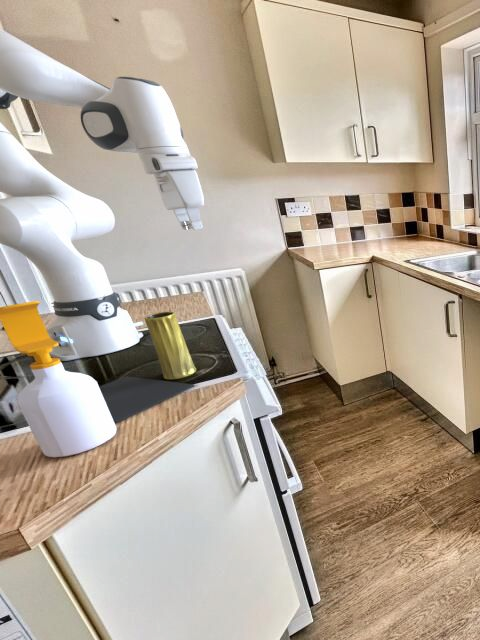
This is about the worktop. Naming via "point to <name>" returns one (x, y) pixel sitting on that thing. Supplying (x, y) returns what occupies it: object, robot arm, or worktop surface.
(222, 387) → the worktop surface
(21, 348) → the soap bottle
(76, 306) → the robot arm
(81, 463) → the worktop surface
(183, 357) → the vase
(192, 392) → the worktop surface
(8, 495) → the worktop surface
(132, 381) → the mat
